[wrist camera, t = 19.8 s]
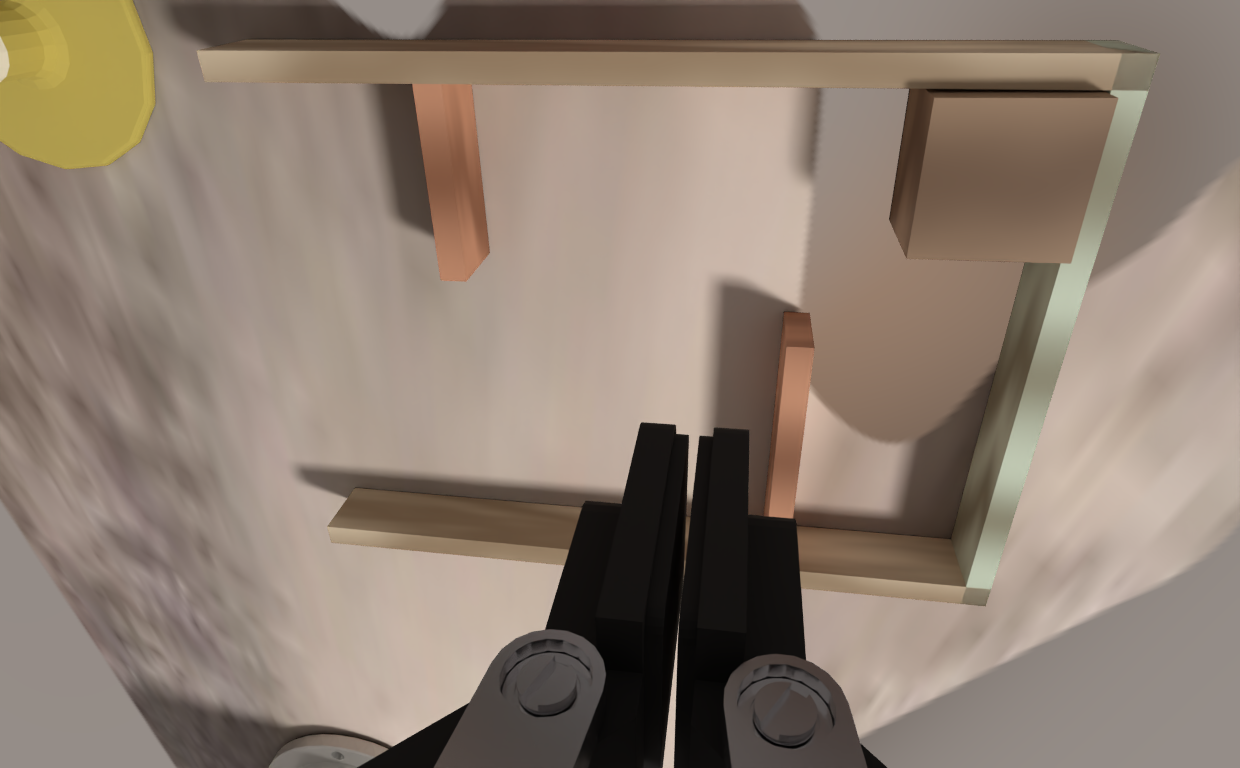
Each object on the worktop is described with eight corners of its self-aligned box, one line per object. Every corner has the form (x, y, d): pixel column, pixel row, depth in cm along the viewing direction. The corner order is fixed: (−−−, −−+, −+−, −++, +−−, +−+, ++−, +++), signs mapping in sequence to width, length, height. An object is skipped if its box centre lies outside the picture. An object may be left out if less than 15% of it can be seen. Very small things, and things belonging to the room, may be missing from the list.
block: (1032, 222, 28) (1071, 263, 24) (888, 219, 29) (906, 258, 25) (1069, 75, 25) (1118, 98, 22) (911, 75, 26) (934, 97, 23)
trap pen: (969, 557, 36) (985, 606, 33) (358, 503, 40) (331, 542, 37) (1117, 40, 24) (1160, 53, 22) (246, 39, 29) (196, 50, 26)
